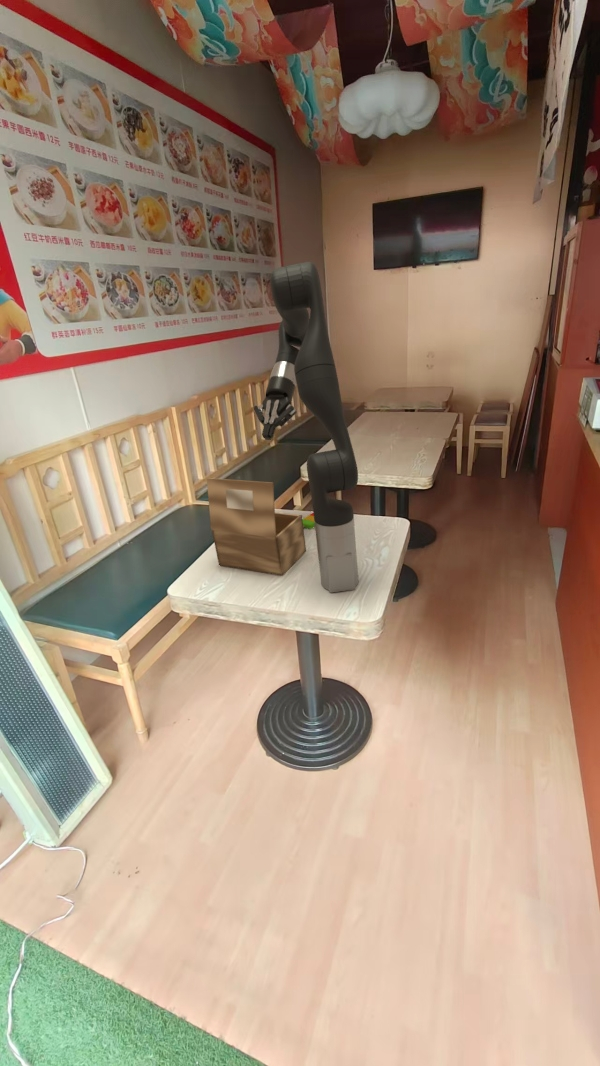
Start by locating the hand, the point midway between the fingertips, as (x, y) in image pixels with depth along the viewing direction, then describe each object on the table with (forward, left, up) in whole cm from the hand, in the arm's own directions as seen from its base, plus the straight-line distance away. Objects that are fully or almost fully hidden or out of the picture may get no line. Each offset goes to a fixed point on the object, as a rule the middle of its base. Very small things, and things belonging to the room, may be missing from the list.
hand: (266, 438), depth 139 cm
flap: (-14, +8, -13) cm, 21 cm away
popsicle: (+9, -8, -32) cm, 34 cm away
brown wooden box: (-9, +6, -31) cm, 33 cm away
